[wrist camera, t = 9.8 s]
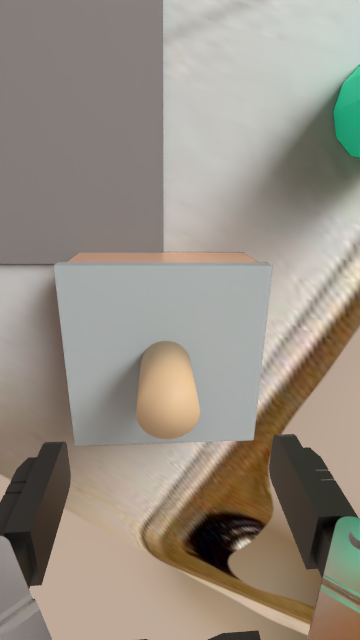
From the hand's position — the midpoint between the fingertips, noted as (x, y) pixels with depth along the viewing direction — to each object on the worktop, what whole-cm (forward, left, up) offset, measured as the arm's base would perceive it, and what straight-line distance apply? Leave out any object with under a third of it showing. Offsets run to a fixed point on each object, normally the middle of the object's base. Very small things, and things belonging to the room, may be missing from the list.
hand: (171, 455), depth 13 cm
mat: (-13, -6, -14) cm, 20 cm away
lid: (0, 0, -9) cm, 9 cm away
